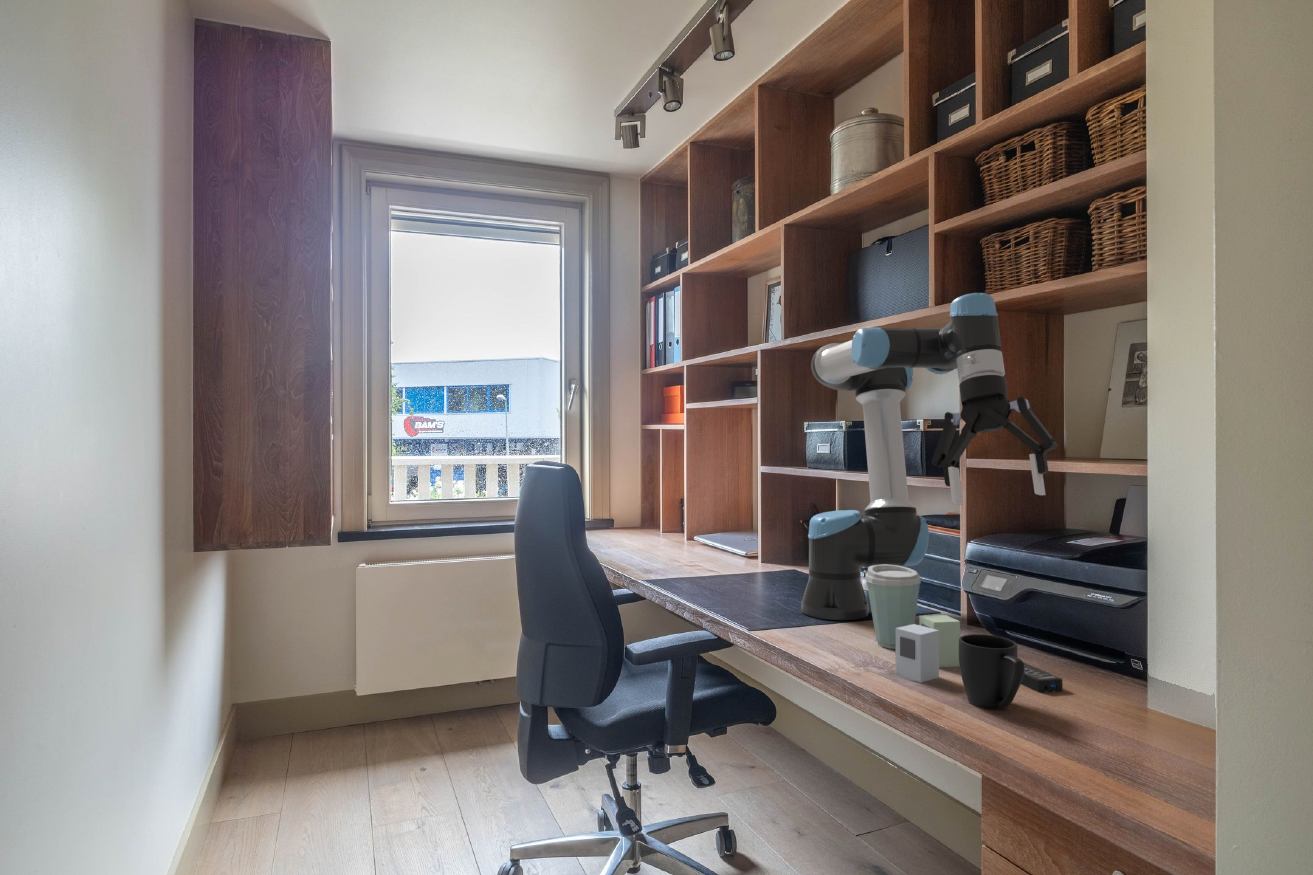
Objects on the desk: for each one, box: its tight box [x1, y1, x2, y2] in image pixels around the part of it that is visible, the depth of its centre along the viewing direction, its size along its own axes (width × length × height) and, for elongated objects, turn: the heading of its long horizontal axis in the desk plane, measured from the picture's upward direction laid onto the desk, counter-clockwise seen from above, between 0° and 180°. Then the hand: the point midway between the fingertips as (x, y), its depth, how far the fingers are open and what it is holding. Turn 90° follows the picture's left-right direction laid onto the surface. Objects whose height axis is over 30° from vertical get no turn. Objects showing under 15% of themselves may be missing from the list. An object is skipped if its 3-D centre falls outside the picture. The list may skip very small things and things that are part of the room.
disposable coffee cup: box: [864, 564, 922, 650], centre depth 143 cm, size 11×11×15 cm
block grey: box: [895, 623, 940, 684], centre depth 125 cm, size 5×5×8 cm
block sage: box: [918, 614, 961, 668], centre depth 132 cm, size 5×5×8 cm
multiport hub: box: [1020, 661, 1064, 694], centre depth 122 cm, size 4×11×2 cm, turn 12°
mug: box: [959, 633, 1025, 711], centre depth 110 cm, size 8×12×10 cm
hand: (997, 499), depth 123 cm, fingers open, 13 cm apart
